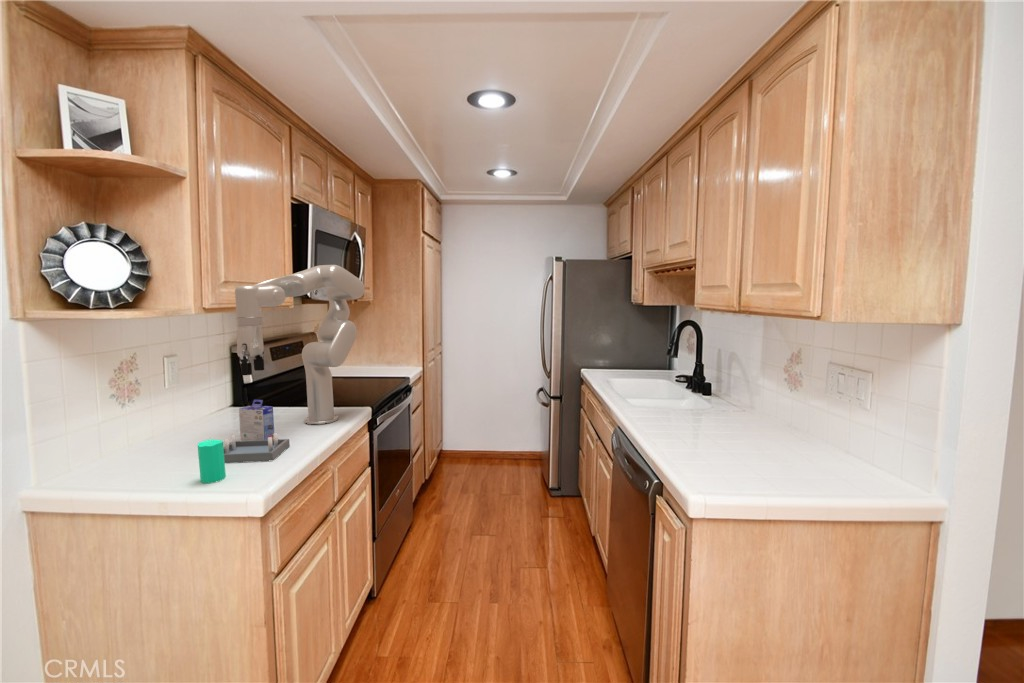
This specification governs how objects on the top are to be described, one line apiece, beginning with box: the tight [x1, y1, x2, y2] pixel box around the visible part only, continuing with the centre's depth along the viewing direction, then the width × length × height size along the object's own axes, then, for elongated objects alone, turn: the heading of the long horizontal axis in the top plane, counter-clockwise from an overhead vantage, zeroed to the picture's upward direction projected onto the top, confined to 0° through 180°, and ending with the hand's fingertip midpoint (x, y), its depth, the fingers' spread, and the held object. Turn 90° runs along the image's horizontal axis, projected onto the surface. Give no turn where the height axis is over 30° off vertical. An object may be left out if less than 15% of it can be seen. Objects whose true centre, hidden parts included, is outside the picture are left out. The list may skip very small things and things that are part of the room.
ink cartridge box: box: [238, 399, 275, 441], centre depth 170 cm, size 10×6×14 cm, turn 78°
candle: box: [197, 438, 227, 484], centre depth 136 cm, size 6×6×12 cm
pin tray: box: [223, 432, 291, 464], centre depth 157 cm, size 14×18×6 cm
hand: (253, 372), depth 168 cm, fingers open, 9 cm apart
